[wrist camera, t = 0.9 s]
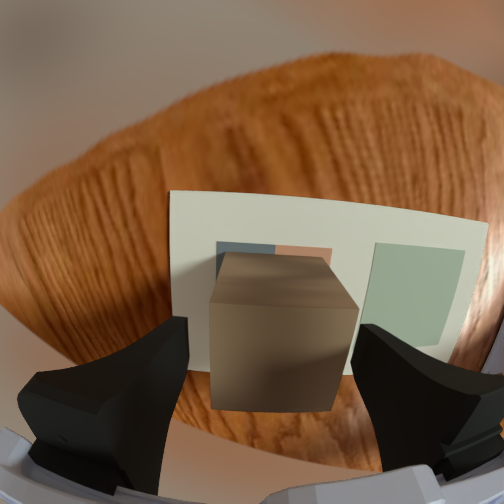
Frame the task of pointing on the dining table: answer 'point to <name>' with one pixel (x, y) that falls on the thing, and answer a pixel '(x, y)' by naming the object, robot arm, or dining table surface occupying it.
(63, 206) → the dining table surface
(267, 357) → the walnut block
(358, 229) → the placemat
